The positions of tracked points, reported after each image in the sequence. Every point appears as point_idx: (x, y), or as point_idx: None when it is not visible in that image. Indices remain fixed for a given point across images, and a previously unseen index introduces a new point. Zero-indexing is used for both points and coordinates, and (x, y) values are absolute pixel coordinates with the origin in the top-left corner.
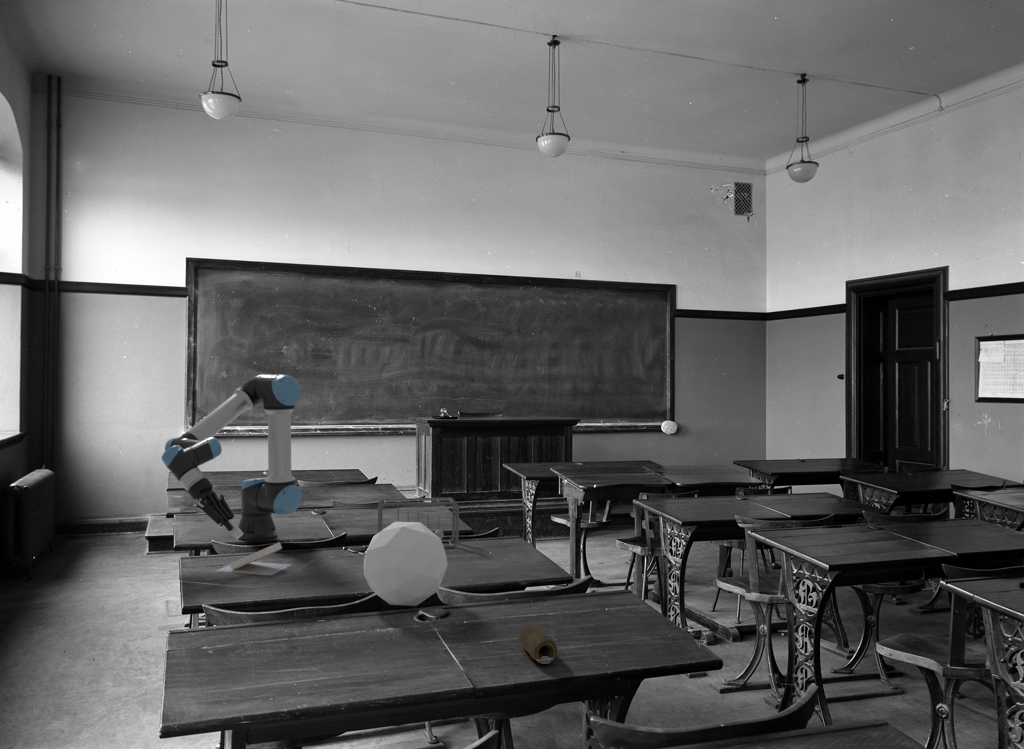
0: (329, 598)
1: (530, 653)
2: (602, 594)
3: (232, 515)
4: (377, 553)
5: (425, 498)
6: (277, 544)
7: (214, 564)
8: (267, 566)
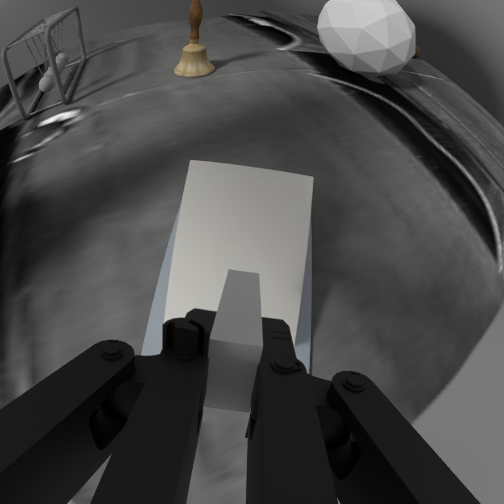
0: (385, 115)
1: (417, 54)
2: (269, 14)
3: (122, 353)
4: (414, 35)
5: (31, 26)
6: (213, 164)
7: None
8: None
